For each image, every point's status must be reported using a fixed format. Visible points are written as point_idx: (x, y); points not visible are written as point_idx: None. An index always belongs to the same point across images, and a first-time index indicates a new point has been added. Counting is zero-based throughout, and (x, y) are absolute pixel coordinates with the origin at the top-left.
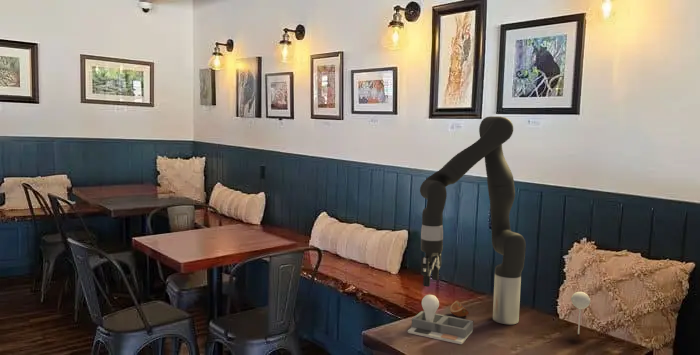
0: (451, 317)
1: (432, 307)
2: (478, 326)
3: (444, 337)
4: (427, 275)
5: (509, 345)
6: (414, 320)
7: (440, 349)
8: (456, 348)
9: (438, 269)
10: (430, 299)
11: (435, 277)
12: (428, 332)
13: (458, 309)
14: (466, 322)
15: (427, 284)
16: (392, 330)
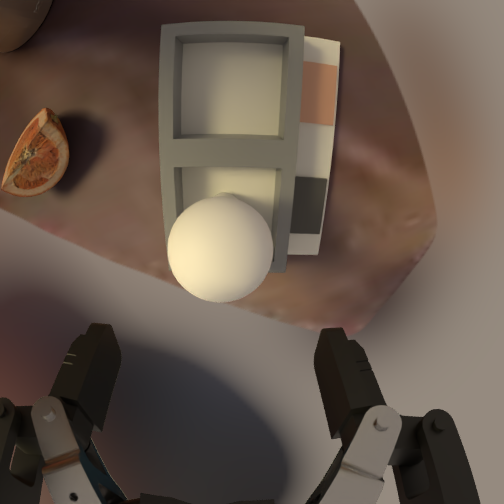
0: (170, 125)
1: (263, 220)
2: (108, 40)
3: (334, 110)
4: (443, 411)
5: None
6: (285, 259)
7: (408, 111)
8: (378, 59)
9: (58, 400)
10: (257, 258)
11: (108, 353)
12: (314, 181)
13: (53, 146)
14: (175, 51)
15: (361, 347)
16: (314, 295)
